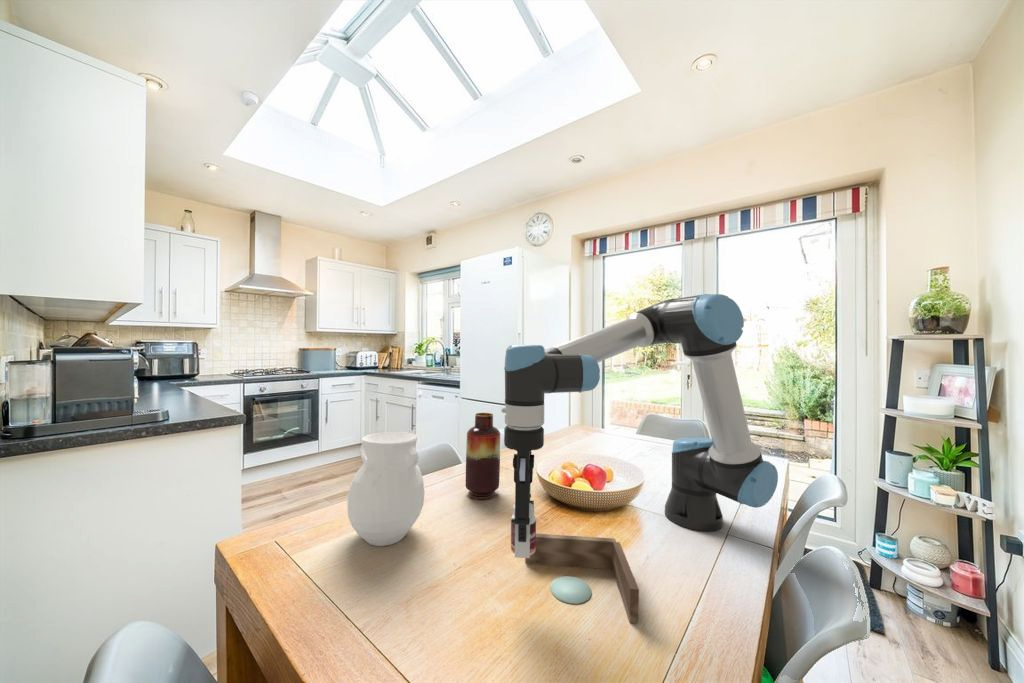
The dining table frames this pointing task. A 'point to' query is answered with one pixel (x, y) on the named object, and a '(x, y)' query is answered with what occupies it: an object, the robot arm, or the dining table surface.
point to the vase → (483, 458)
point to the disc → (571, 590)
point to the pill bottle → (532, 530)
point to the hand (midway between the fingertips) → (522, 548)
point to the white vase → (386, 488)
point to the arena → (590, 561)
